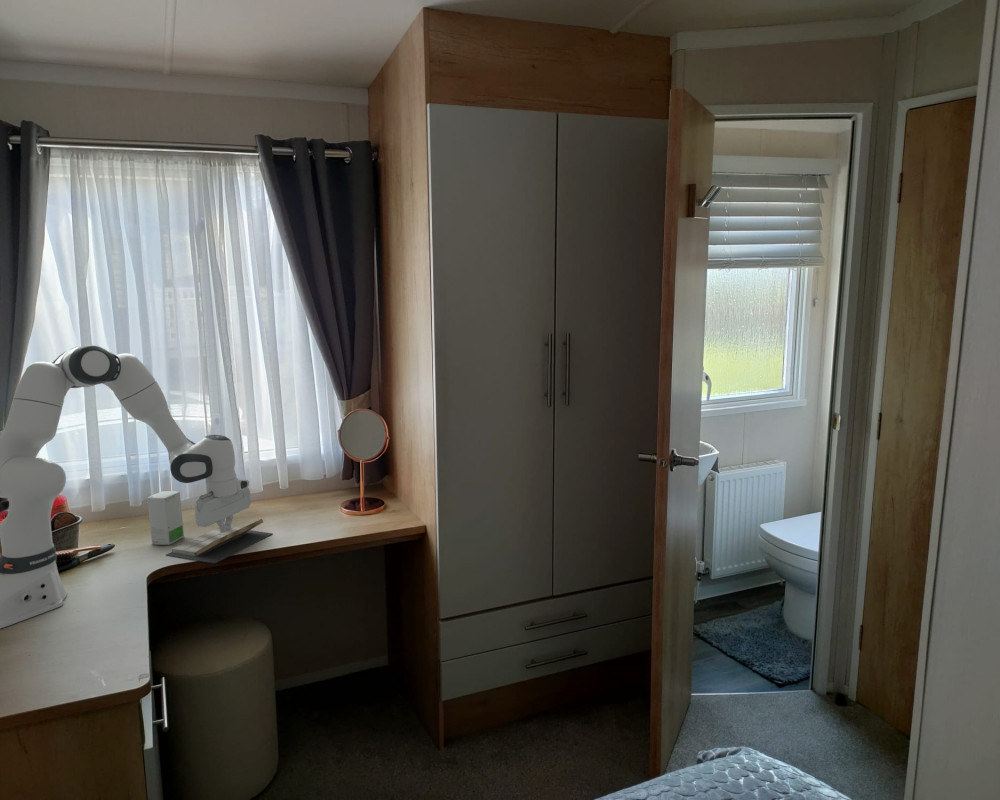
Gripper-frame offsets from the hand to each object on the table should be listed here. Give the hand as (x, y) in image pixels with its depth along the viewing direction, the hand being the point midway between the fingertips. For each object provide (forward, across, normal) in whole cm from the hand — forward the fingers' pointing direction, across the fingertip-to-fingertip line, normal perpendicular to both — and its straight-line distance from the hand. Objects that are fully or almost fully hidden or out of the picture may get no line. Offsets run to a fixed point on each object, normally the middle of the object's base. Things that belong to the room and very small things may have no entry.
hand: (225, 530), depth 220 cm
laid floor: (+6, +4, +10) cm, 13 cm away
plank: (+4, +4, +1) cm, 6 cm away
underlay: (+6, +4, +6) cm, 9 cm away
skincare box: (+7, +1, +25) cm, 26 cm away
